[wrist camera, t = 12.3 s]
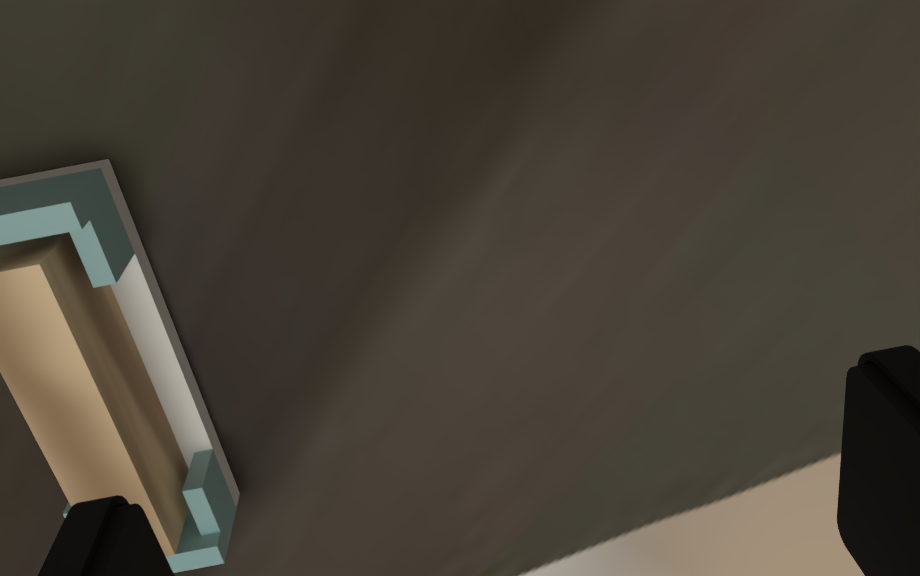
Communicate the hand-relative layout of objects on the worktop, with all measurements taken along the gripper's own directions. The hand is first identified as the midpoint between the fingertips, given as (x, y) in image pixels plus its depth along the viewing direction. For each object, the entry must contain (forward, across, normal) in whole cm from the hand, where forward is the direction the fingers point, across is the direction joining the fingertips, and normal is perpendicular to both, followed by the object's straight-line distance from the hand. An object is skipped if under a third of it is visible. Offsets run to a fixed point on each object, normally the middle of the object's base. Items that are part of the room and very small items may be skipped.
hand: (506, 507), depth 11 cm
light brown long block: (+27, +18, +12) cm, 35 cm away
